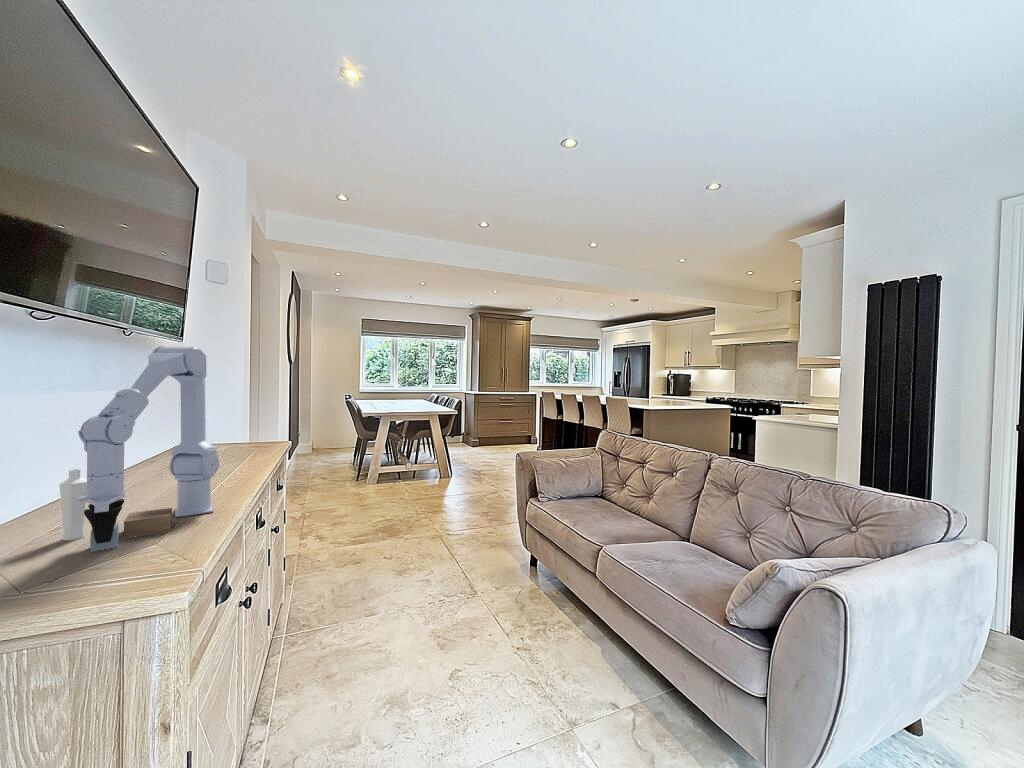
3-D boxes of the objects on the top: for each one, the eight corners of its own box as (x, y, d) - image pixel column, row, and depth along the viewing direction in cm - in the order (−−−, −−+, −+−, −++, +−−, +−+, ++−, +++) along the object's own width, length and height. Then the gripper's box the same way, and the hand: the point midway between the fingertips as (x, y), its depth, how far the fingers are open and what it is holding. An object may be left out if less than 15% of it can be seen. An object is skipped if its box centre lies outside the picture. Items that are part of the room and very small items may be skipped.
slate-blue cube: (92, 546, 93) (93, 527, 93) (118, 542, 95) (118, 523, 95) (90, 552, 89) (90, 532, 89) (116, 547, 92) (117, 528, 92)
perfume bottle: (82, 532, 101) (83, 466, 101) (91, 535, 99) (92, 468, 99) (55, 539, 96) (56, 470, 96) (64, 542, 94) (65, 472, 95)
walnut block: (129, 530, 104) (129, 512, 104) (171, 524, 108) (172, 507, 108) (123, 540, 97) (124, 521, 97) (169, 533, 102) (169, 515, 102)
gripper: (84, 470, 95) (83, 533, 95) (73, 482, 84) (72, 554, 84) (127, 467, 100) (126, 527, 100) (122, 477, 88) (121, 546, 88)
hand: (104, 539), depth 92 cm, fingers closed on slate-blue cube, 4 cm apart
